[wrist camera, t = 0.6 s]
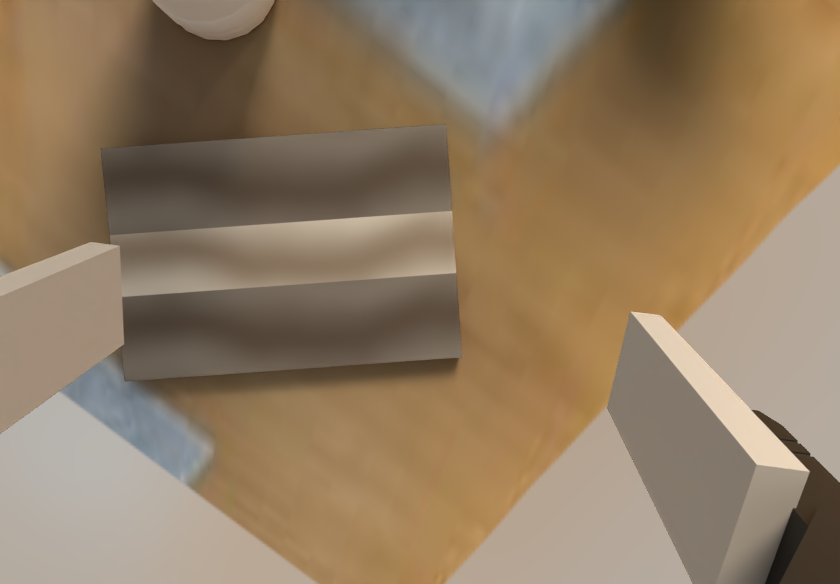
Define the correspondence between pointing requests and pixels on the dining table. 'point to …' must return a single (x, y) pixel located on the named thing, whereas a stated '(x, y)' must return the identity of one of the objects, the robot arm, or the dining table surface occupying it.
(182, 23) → the bottle
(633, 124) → the dining table surface
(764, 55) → the dining table surface
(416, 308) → the subfloor panel
